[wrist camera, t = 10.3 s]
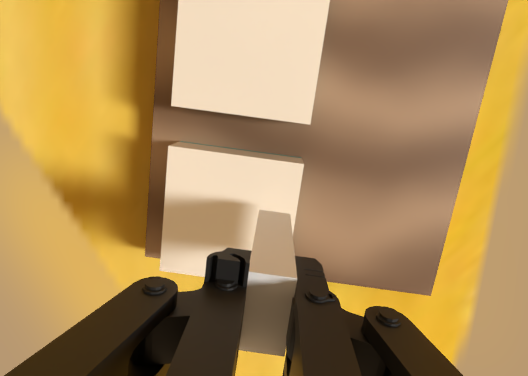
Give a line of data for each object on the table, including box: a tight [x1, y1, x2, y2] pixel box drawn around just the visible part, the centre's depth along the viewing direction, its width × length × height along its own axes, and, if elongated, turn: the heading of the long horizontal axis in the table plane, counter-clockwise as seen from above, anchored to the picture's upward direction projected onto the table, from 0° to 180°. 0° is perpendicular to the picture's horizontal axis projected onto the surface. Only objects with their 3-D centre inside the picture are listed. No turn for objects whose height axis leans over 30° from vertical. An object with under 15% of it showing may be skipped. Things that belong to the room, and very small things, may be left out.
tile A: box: [171, 0, 330, 125], centre depth 18 cm, size 7×2×7 cm
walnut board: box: [145, 0, 508, 296], centre depth 21 cm, size 17×18×2 cm
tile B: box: [160, 141, 304, 277], centre depth 20 cm, size 7×2×7 cm
